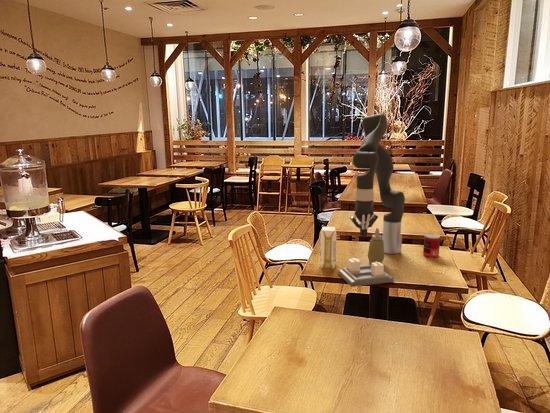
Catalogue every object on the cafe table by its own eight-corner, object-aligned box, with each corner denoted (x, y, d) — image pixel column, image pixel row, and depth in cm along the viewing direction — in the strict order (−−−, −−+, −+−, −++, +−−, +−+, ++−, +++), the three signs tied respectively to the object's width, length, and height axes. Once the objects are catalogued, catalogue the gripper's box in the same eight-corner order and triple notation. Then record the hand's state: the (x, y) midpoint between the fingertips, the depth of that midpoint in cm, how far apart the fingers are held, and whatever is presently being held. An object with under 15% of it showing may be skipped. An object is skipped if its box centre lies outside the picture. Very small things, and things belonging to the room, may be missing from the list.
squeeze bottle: (364, 263, 206) (365, 228, 202) (372, 259, 211) (374, 225, 207) (378, 267, 200) (380, 231, 196) (387, 263, 206) (389, 228, 202)
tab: (378, 272, 188) (379, 260, 187) (383, 275, 184) (383, 263, 183) (370, 273, 187) (371, 261, 186) (375, 276, 183) (375, 264, 182)
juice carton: (335, 263, 207) (336, 226, 202) (335, 269, 198) (336, 231, 194) (320, 262, 208) (321, 225, 203) (319, 268, 199) (320, 230, 195)
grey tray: (377, 269, 198) (377, 263, 197) (393, 281, 184) (393, 275, 183) (337, 273, 193) (338, 267, 193) (351, 286, 179) (351, 280, 178)
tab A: (356, 268, 193) (356, 257, 191) (359, 271, 189) (360, 260, 188) (347, 269, 192) (348, 257, 191) (351, 272, 188) (352, 260, 187)
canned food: (440, 254, 218) (441, 234, 215) (436, 259, 211) (438, 238, 209) (424, 252, 222) (426, 232, 219) (421, 256, 215) (422, 236, 213)
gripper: (374, 195, 184) (372, 232, 189) (346, 197, 181) (345, 235, 185) (382, 198, 177) (381, 237, 182) (354, 201, 174) (353, 240, 178)
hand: (363, 236), depth 183 cm, fingers closed
